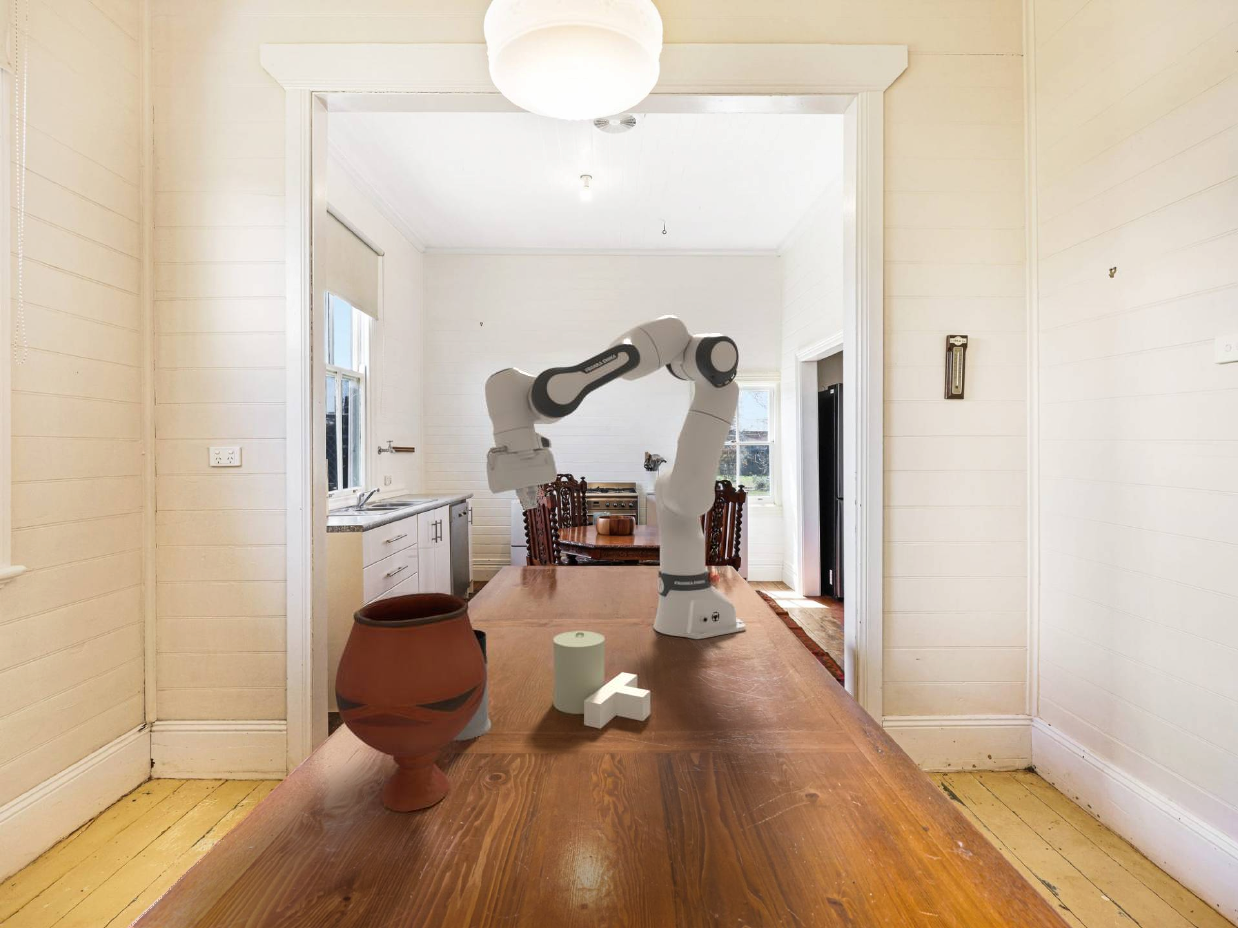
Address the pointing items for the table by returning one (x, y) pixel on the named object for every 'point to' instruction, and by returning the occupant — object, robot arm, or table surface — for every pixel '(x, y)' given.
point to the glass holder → (480, 719)
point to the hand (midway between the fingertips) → (530, 508)
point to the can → (577, 669)
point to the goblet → (411, 687)
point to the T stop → (617, 702)
